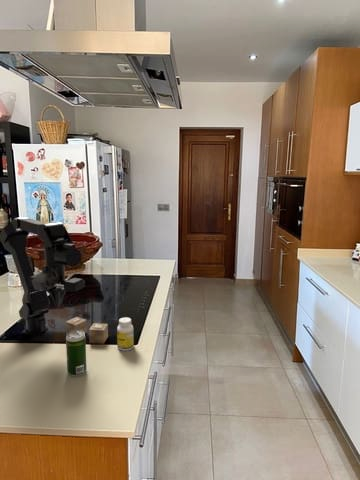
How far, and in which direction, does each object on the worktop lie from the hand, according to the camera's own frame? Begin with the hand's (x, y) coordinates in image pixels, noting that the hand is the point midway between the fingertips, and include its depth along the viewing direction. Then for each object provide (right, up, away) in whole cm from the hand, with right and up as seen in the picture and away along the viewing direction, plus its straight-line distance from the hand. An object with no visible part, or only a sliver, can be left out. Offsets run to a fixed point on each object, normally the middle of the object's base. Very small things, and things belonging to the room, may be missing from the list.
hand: (57, 307), depth 112 cm
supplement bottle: (+22, -14, +1) cm, 26 cm away
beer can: (+11, -16, -14) cm, 24 cm away
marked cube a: (+12, -13, +6) cm, 18 cm away
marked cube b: (+3, -12, +10) cm, 15 cm away
